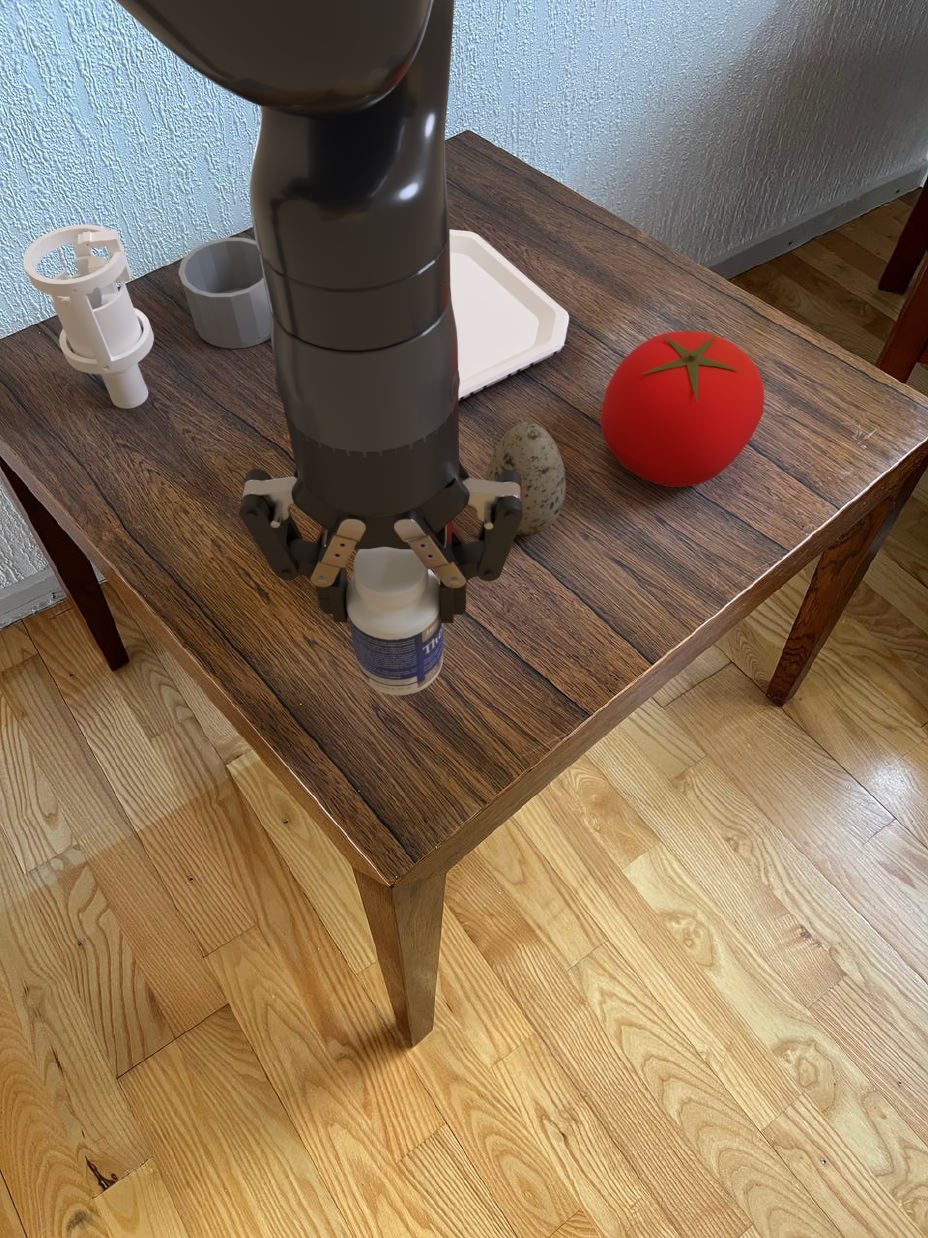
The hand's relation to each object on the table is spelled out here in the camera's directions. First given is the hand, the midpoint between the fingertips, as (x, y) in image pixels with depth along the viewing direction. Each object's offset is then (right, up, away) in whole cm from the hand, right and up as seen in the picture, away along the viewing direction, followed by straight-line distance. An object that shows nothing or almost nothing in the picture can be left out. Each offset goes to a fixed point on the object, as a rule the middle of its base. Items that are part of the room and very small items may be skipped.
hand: (394, 609), depth 54 cm
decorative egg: (+8, +7, +19) cm, 22 cm away
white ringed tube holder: (-24, +18, +27) cm, 41 cm away
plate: (+1, +25, +31) cm, 40 cm away
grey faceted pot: (-16, +27, +32) cm, 45 cm away
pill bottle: (0, -3, +5) cm, 6 cm away
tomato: (+20, +12, +23) cm, 33 cm away
